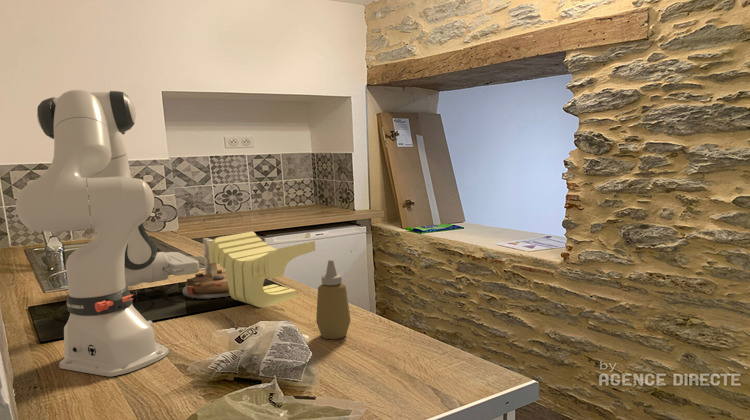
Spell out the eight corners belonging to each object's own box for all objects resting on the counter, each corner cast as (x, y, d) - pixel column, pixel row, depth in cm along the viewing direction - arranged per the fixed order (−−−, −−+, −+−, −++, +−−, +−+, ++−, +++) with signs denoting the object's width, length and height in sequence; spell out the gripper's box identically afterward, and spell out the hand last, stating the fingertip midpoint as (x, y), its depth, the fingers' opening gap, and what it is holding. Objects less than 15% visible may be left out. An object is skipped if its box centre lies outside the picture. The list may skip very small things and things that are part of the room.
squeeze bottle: (319, 329, 124) (315, 257, 122) (352, 328, 124) (349, 256, 122) (314, 342, 116) (310, 265, 114) (349, 341, 116) (346, 264, 114)
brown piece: (260, 285, 162) (257, 241, 160) (199, 297, 150) (196, 251, 148) (235, 274, 176) (232, 234, 175) (178, 285, 165) (175, 242, 163)
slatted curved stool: (212, 296, 155) (208, 239, 152) (256, 285, 166) (253, 231, 164) (272, 316, 135) (268, 250, 132) (317, 302, 146) (314, 240, 144)
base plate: (268, 284, 167) (268, 274, 166) (216, 302, 148) (215, 291, 148) (222, 276, 178) (221, 267, 178) (167, 293, 160) (166, 282, 159)
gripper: (168, 262, 148) (214, 254, 157) (148, 251, 164) (191, 245, 173) (170, 283, 149) (216, 274, 158) (150, 270, 165) (193, 263, 174)
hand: (203, 259), depth 165 cm, fingers closed
